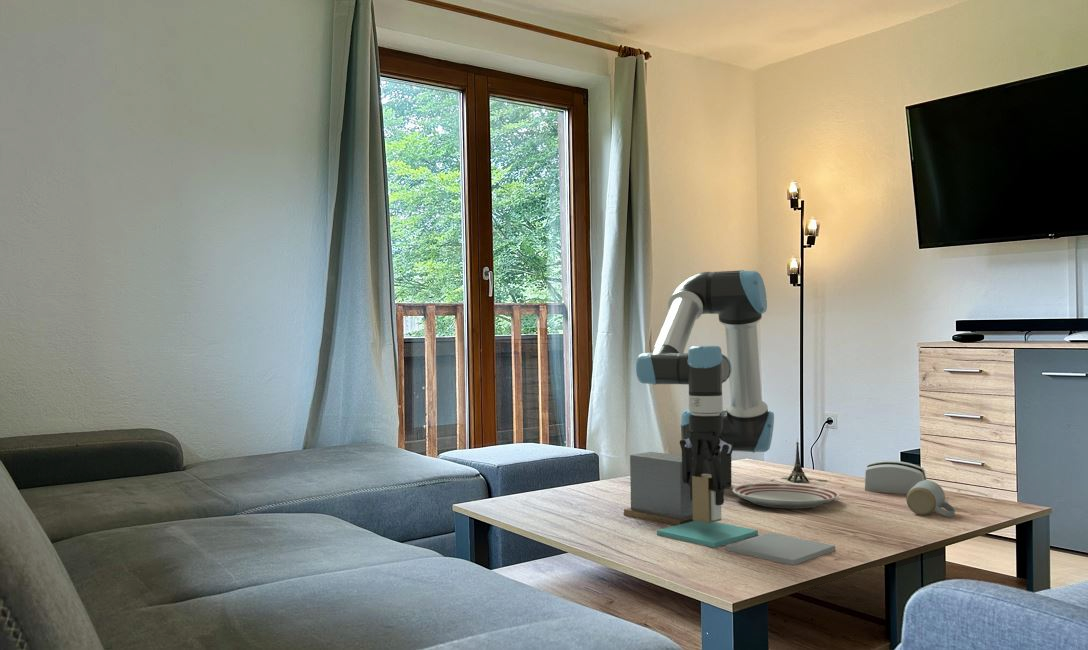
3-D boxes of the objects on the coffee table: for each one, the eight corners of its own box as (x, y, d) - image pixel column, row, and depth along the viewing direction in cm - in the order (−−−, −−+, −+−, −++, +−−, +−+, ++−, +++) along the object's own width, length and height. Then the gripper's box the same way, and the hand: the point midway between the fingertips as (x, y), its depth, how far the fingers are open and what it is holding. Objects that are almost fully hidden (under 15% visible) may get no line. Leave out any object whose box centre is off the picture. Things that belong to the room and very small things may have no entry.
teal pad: (656, 534, 195) (656, 530, 195) (700, 523, 206) (700, 519, 206) (714, 547, 183) (714, 542, 183) (757, 534, 194) (757, 530, 194)
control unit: (623, 515, 216) (623, 455, 216) (652, 508, 223) (652, 450, 223) (680, 527, 202) (679, 463, 202) (709, 519, 210) (708, 458, 210)
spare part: (692, 520, 195) (692, 476, 195) (705, 517, 198) (704, 473, 198) (708, 523, 191) (708, 478, 191) (721, 520, 194) (720, 475, 194)
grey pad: (725, 550, 181) (725, 545, 181) (769, 537, 192) (769, 532, 192) (793, 565, 169) (792, 560, 169) (835, 550, 180) (835, 545, 180)
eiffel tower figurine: (829, 482, 259) (829, 438, 259) (818, 488, 251) (817, 442, 251) (781, 477, 268) (780, 435, 268) (768, 483, 260) (768, 438, 260)
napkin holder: (930, 492, 239) (928, 460, 236) (928, 501, 235) (925, 468, 232) (867, 487, 248) (864, 456, 245) (864, 495, 244) (861, 464, 242)
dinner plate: (750, 489, 249) (750, 477, 249) (849, 498, 235) (849, 485, 235) (718, 507, 225) (718, 494, 225) (825, 518, 211) (825, 504, 211)
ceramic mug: (904, 514, 213) (904, 483, 213) (913, 508, 219) (913, 478, 219) (951, 520, 206) (951, 488, 206) (958, 514, 213) (958, 483, 213)
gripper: (664, 412, 199) (666, 513, 199) (727, 417, 186) (729, 526, 185) (685, 410, 204) (686, 509, 204) (748, 415, 191) (749, 520, 190)
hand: (706, 517), depth 194 cm, fingers closed on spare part, 4 cm apart
